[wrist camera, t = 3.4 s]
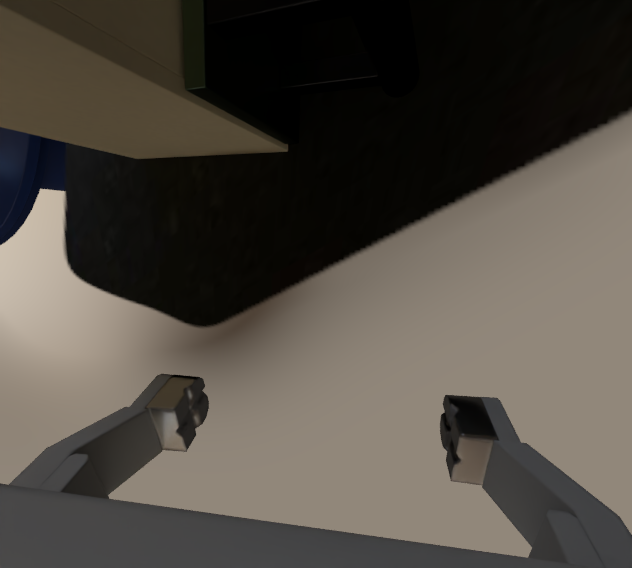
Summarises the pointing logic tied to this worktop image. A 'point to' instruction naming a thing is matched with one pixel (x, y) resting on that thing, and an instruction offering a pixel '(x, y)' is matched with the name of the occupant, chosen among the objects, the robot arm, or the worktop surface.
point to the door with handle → (290, 56)
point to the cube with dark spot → (111, 81)
